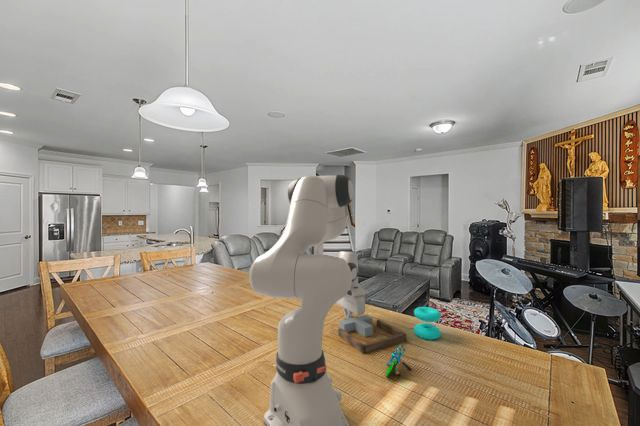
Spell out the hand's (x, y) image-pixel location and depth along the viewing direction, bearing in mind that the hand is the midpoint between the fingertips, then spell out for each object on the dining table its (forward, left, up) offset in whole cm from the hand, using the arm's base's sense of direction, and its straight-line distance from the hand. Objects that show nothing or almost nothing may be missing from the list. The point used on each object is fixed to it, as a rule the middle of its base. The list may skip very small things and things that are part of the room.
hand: (348, 318), depth 123 cm
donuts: (-25, -21, -2) cm, 33 cm away
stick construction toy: (-38, +6, -2) cm, 39 cm away
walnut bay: (-16, 0, -2) cm, 16 cm away
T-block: (-9, 0, -2) cm, 10 cm away
